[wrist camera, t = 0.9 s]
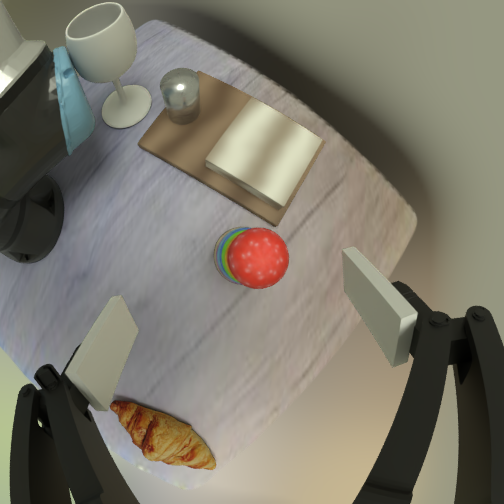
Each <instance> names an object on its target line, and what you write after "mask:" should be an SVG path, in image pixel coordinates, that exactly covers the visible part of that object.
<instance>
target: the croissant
mask: <svg viewBox="0 0 504 504" xmlns="http://www.w3.org/2000/svg"><path fill="white" fill-rule="evenodd" d="M110 409H111V410H112V411H114V412H115V413H116V414H117V415H118V418H119V422H120V423H121V424H122V426H124V428H125V429H126V430H127V432H128V433H129V434H130V436H131V438H132V440H133V441H132V442H133V443H134V444H135V445H137V446H138V447H139V448H140V449H141V450H142V453H143V455H144V456H145V457H146V458H147V459H148V460H150V461H162V462H164V463H166V464H170V465H185V466H188V467H191V468H194V469H202V468H204V469H208V470H213V469H215V467H216V462H215V459H214V458H213V456H212V455H211V453H210V450H209V448H208V447H207V446H206V444H205V443H204V442H203V440H202V439H201V438H200V437H199V436H198V435H197V434H196V433H195V432H194V431H193V430H192V429H191V428H192V427H191V426H190V425H187V424H184V423H182V422H178V421H177V420H176V419H175V418H173V417H171V416H169V415H167V414H164V413H161V412H158V411H154V410H151V409H148V408H145V407H142V406H139V405H137V404H135V403H132V402H126V401H118V400H115V401H113V402H112V403H111V405H110Z"/></svg>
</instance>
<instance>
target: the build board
mask: <svg viewBox="0 0 504 504" xmlns="http://www.w3.org/2000/svg"><path fill="white" fill-rule="evenodd" d="M197 75H198V77H199V90H200V114H199V116H198V118H197V119H196V120H195V121H193V122H192V123H189V124H186V125H178V124H175V123H173V122H172V121H171V120H170V119H169V117H168V113H167V110H166V107H165V109H164V110H163V111H162V112H161V113H160V115H159V116H158V117H157V118H156V120H155V121H154V122H153V123H152V125H151V126H150V127H149V129H148V130H147V131H146V133H145V134H144V135H143V137H142V138H141V139H140V141H139V142H138V143H137V144H138V145H139V147H140V148H142V149H144V150H146V151H147V152H149V153H151V154H153V155H155V156H156V157H158V158H160V159H162V160H163V161H165V162H167V163H169V164H170V165H172V166H174V167H176V168H177V169H179V170H181V171H183V172H184V173H186V174H188V175H190V176H191V177H193V178H195V179H196V180H198V181H200V182H202V183H203V184H205V185H207V186H208V187H210V188H212V189H213V190H215V191H217V192H219V193H220V194H222V195H224V196H225V197H227V198H229V199H230V200H232V201H234V202H235V203H237V204H239V205H240V206H242V207H243V208H245V209H247V210H248V211H250V212H252V213H253V214H255V215H257V216H258V217H260V218H261V219H263V220H265V221H266V222H268V223H269V224H271V225H273V226H274V227H276V226H278V224H279V222H280V221H281V219H282V217H283V216H284V214H285V212H286V210H287V209H288V207H289V205H290V204H291V202H292V200H293V198H294V197H295V195H296V193H297V191H298V190H299V188H300V186H301V184H302V183H303V181H304V179H305V177H306V176H307V174H308V172H309V171H310V169H311V167H312V165H313V164H314V162H315V160H316V158H317V157H318V155H319V153H320V151H321V150H322V148H323V146H324V144H325V143H326V141H324V140H323V139H321V138H320V137H318V136H317V135H315V134H314V133H312V132H311V131H309V130H308V129H306V128H305V127H303V126H302V125H300V124H298V123H297V122H295V121H294V120H292V119H290V118H289V117H287V116H285V115H284V114H282V113H280V112H279V111H277V110H275V109H273V108H272V107H270V106H268V105H266V104H265V103H263V102H261V101H259V100H257V99H256V98H254V97H252V96H250V95H248V94H246V93H244V92H242V91H240V90H239V89H237V88H235V87H233V86H231V85H229V84H226V83H224V82H222V81H220V80H218V79H216V78H214V77H212V76H209V75H207V74H205V73H203V72H201V71H198V72H197Z"/></svg>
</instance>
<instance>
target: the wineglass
mask: <svg viewBox="0 0 504 504" xmlns="http://www.w3.org/2000/svg"><path fill="white" fill-rule="evenodd" d="M65 36H66V44H67V49H68V53H69V57H70V59H71V62H72V64H73V66H74V68H75V69H76V71H77V72H78V73H79V75H80V76H81V77H82V78H84V79H85V80H87V81H89V82H93V83H107V82H110V81H112V82H113V84H114V86H115V88H116V90H115V91H114V92H113V93H111V94H110V95H109V96H108V98H107V99H106V100H105V102H104V104H103V107H102V117H103V120H104V121H105V123H106V124H108V125H109V126H111V127H114V128H126V127H130V126H132V125H134V124H136V123H138V122H139V121H141V120H142V119H143V118H144V117H145V116H146V114H147V113H148V111H149V109H150V107H151V102H152V100H151V95H150V93H149V92H148V90H147V89H145V88H144V87H142V86H138V85H127V86H124V87H122V86H121V83H120V80H119V77H120V76H122V75H123V74H124V73H125V72H126V71H127V70H128V69H129V68H130V67H131V65H132V63H133V62H134V60H135V57H136V53H137V40H136V34H135V31H134V28H133V25H132V23H131V20H130V18H129V17H128V15H127V13H126V11H125V10H124V8H123V7H122V6H121V5H120V4H118V3H113V2H108V3H102V4H98V5H95V6H92V7H90V8H88V9H86V10H84V11H83V12H81V13H80V14H78V15H77V16H76V17H75V18H74V19H73V20H72V21H71V22H70V23H69V25H68V27H67V29H66V35H65Z"/></svg>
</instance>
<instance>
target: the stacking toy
mask: <svg viewBox="0 0 504 504" xmlns="http://www.w3.org/2000/svg"><path fill="white" fill-rule="evenodd" d="M214 261H215V265H216V267H217V269H218V271H219V272H220V274H221V275H222V276H223V277H224V278H226V279H227V280H229V281H230V282H233V283H236V284H241V285H244V286H247V287H250V288H254V289H263V288H267V287H270V286H272V285H274V284H275V283H277V282H278V281H279V280H280V279H281V278H282V277H283V276H284V274H285V272H286V270H287V268H288V263H289V253H288V250H287V247H286V244H285V243H284V241H283V240H282V238H281V237H280V236H279V235H278V234H276V233H275V232H273V231H271V230H269V229H265V228H248V227H237V228H233V229H231V230H229V231H227V232H226V233H224V234H223V235H222V236H221V237H220V238H219V240H218V242H217V244H216V246H215V250H214Z"/></svg>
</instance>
